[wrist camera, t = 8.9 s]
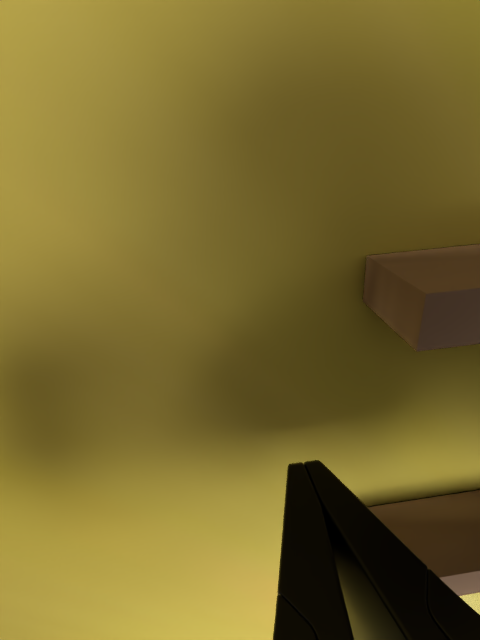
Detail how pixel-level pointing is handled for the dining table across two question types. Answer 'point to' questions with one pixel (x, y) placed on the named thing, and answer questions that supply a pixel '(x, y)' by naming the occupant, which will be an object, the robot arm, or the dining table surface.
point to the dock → (424, 334)
